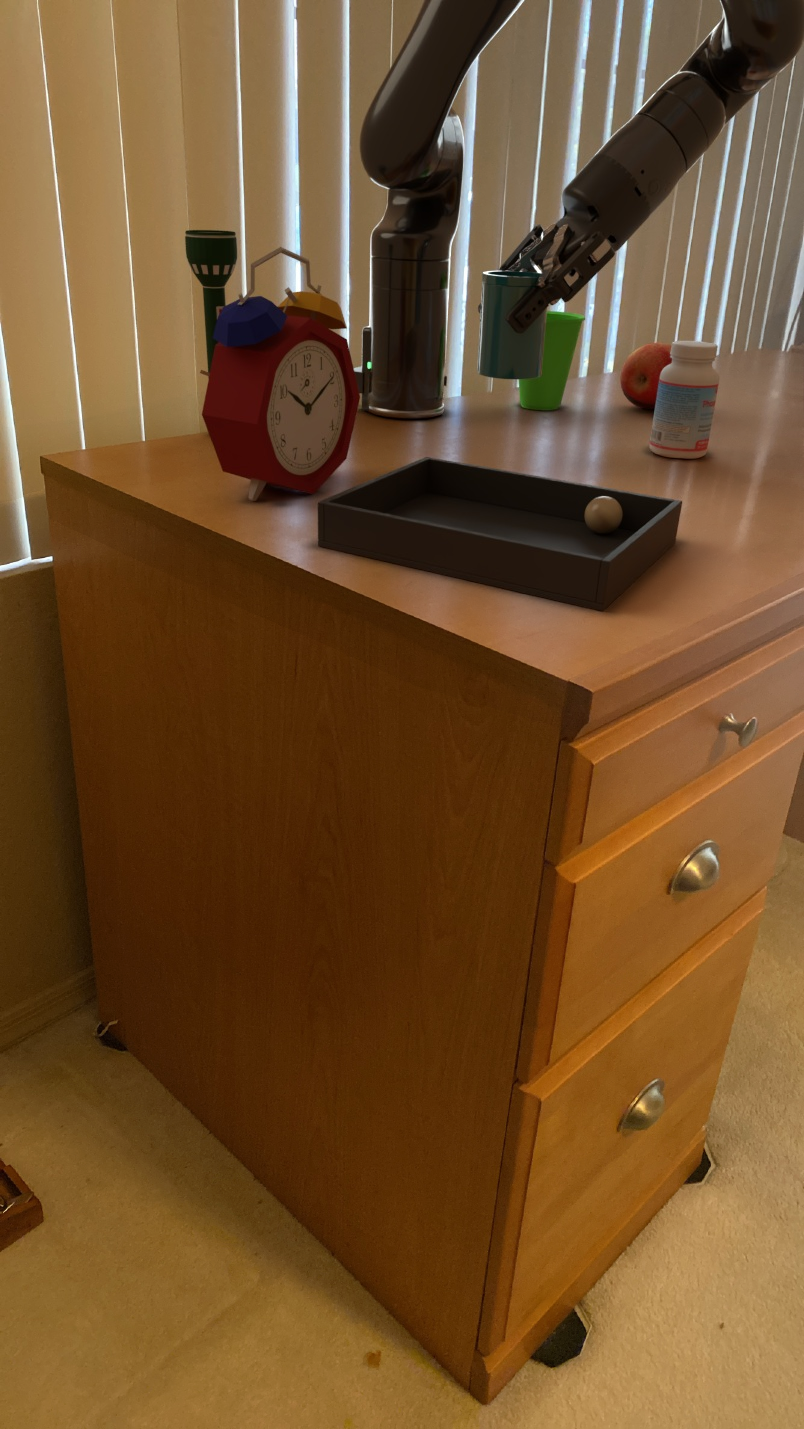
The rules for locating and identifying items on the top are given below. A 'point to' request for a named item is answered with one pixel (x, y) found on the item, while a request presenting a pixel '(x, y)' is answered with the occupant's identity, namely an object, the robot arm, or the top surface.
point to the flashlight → (211, 273)
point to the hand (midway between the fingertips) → (498, 321)
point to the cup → (552, 362)
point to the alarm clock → (281, 388)
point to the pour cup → (508, 328)
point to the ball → (603, 515)
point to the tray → (500, 529)
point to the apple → (644, 373)
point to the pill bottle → (685, 401)
